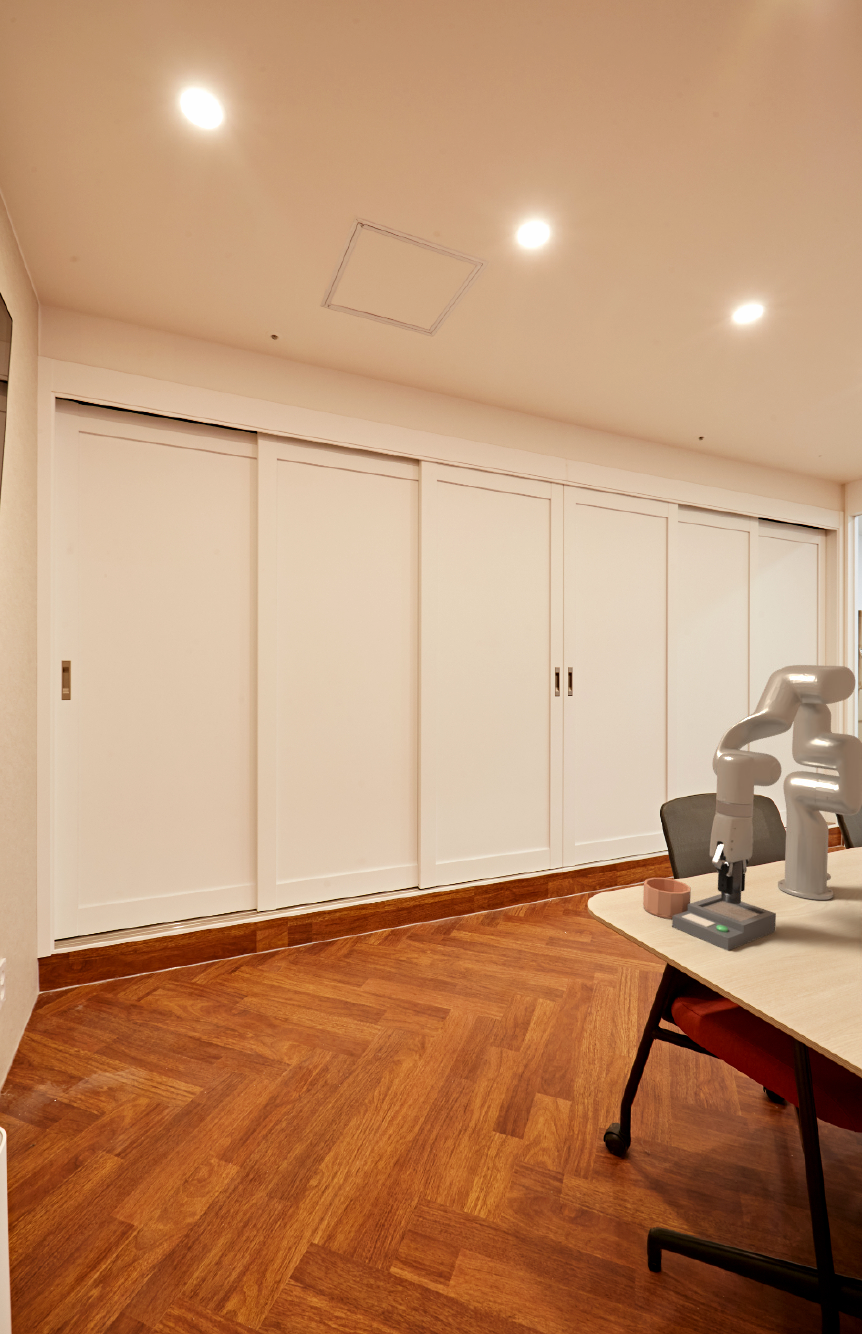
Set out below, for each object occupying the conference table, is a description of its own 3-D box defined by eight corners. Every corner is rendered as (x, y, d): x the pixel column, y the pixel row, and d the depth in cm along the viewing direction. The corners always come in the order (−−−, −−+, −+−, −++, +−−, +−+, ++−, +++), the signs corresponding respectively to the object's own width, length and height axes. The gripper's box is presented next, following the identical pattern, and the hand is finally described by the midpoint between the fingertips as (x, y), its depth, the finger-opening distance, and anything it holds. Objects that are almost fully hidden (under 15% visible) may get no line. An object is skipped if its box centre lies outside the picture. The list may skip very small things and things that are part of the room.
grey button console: (719, 910, 147) (720, 894, 147) (775, 931, 136) (775, 913, 136) (672, 926, 137) (672, 908, 137) (727, 950, 126) (728, 930, 126)
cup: (661, 899, 153) (662, 875, 153) (698, 913, 145) (699, 888, 145) (634, 907, 147) (635, 882, 147) (672, 922, 139) (672, 896, 139)
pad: (723, 904, 144) (723, 900, 144) (762, 918, 137) (762, 914, 137) (700, 912, 139) (700, 907, 139) (739, 927, 132) (739, 922, 132)
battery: (727, 896, 140) (729, 852, 140) (744, 902, 137) (746, 857, 137) (717, 899, 138) (719, 854, 138) (734, 905, 135) (736, 859, 135)
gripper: (738, 802, 146) (735, 880, 145) (696, 809, 136) (693, 891, 136) (770, 809, 139) (767, 890, 139) (729, 816, 130) (725, 903, 130)
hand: (731, 890), depth 138 cm, fingers closed on battery, 4 cm apart
